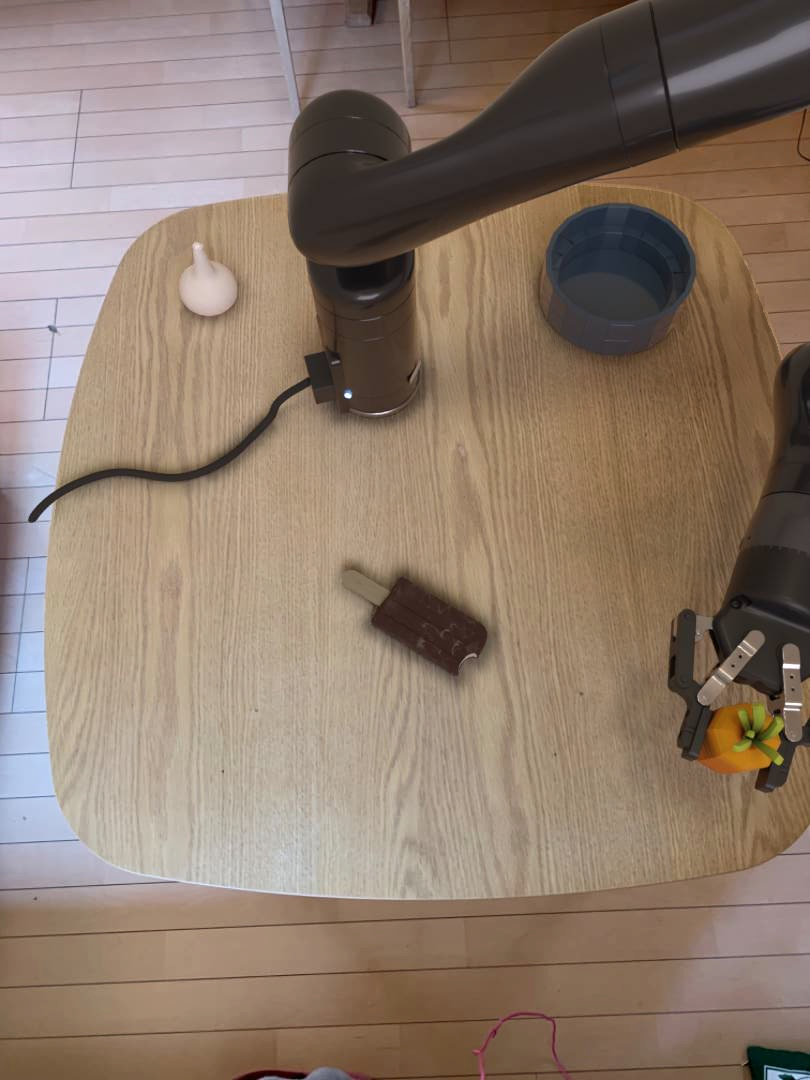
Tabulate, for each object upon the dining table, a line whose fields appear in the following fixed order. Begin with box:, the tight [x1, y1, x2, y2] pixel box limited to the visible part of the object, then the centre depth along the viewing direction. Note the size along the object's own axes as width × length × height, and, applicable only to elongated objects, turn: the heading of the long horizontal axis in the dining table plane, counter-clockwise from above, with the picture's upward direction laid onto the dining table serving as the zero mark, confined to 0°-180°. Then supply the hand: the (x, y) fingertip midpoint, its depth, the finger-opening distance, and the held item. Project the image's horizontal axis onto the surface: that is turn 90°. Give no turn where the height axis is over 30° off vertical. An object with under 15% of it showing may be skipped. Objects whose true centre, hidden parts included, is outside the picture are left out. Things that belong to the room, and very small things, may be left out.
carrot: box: [696, 701, 784, 775], centre depth 62 cm, size 5×5×15 cm
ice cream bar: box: [341, 569, 488, 677], centre depth 80 cm, size 5×2×15 cm
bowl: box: [539, 202, 697, 356], centre depth 90 cm, size 15×15×6 cm
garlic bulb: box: [178, 241, 239, 317], centre depth 90 cm, size 6×6×8 cm
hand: (726, 773), depth 61 cm, fingers closed on carrot, 5 cm apart
